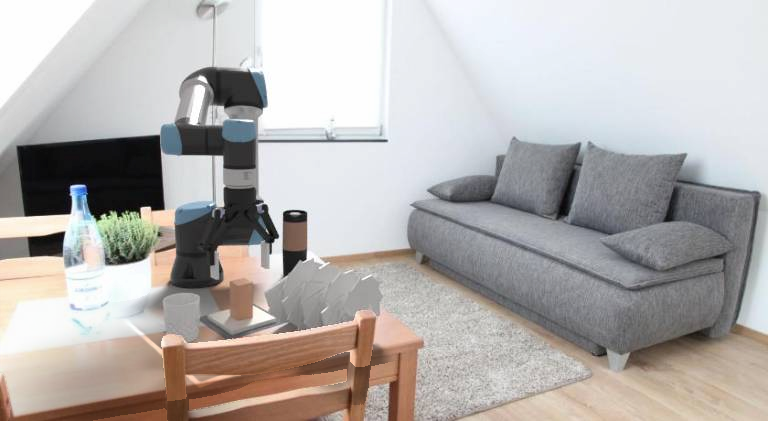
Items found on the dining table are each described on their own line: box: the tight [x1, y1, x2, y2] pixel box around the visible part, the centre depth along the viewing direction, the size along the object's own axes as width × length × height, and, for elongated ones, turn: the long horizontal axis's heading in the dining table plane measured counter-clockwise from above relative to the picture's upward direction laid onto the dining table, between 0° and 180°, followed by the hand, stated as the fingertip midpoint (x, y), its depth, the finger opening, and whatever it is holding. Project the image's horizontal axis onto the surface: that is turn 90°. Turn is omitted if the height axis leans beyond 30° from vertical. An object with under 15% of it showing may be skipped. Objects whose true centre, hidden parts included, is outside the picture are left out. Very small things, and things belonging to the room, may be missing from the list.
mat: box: [199, 303, 285, 340], centre depth 138 cm, size 16×16×1 cm
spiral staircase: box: [264, 257, 384, 332], centre depth 132 cm, size 18×18×25 cm
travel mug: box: [281, 209, 308, 277], centre depth 174 cm, size 8×8×20 cm
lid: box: [207, 277, 276, 335], centre depth 137 cm, size 12×12×10 cm
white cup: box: [162, 292, 201, 343], centre depth 127 cm, size 8×8×10 cm
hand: (240, 272), depth 135 cm, fingers open, 13 cm apart
